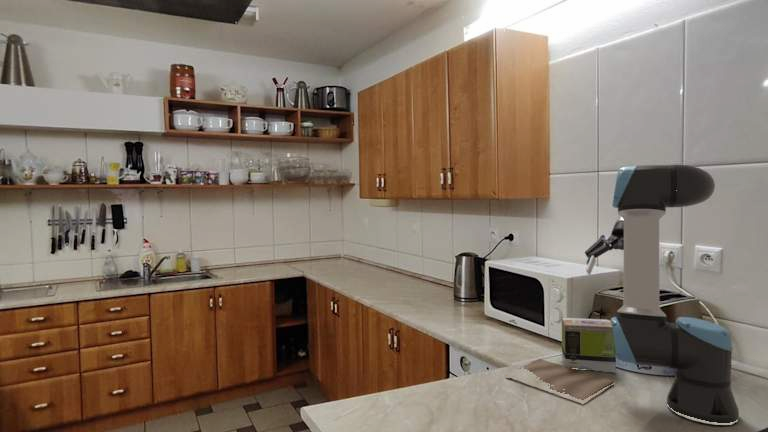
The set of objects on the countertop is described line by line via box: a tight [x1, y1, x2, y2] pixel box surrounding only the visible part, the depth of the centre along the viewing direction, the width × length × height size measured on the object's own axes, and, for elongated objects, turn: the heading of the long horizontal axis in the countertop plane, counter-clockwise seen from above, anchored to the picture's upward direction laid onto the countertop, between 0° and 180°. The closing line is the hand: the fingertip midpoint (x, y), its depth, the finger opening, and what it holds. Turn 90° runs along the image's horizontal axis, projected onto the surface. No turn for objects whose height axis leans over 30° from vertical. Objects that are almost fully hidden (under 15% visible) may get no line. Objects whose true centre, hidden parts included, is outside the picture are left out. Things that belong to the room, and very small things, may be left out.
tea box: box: [561, 317, 617, 374], centre depth 149 cm, size 15×10×15 cm
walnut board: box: [519, 358, 615, 400], centre depth 138 cm, size 24×19×1 cm
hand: (607, 274), depth 158 cm, fingers open, 13 cm apart
